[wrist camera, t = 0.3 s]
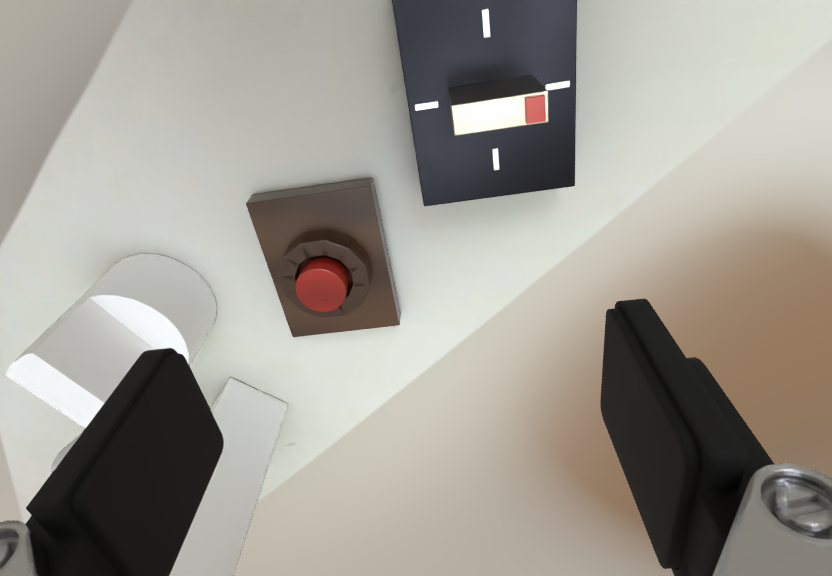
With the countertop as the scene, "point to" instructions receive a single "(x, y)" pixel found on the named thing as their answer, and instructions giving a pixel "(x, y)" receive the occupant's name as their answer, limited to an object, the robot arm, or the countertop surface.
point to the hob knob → (498, 105)
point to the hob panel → (479, 63)
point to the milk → (232, 481)
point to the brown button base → (328, 252)
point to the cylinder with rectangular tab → (116, 333)
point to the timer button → (322, 284)
